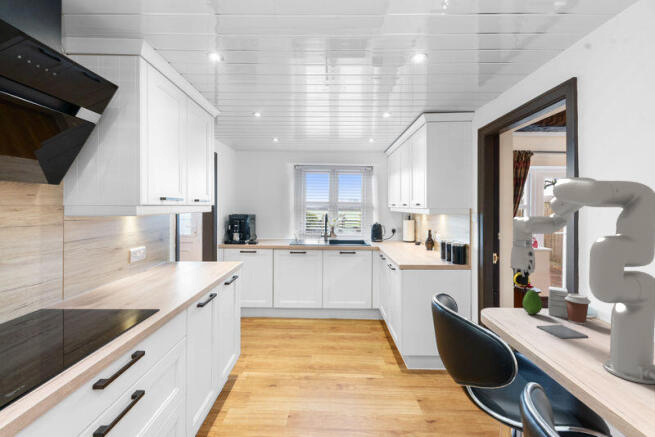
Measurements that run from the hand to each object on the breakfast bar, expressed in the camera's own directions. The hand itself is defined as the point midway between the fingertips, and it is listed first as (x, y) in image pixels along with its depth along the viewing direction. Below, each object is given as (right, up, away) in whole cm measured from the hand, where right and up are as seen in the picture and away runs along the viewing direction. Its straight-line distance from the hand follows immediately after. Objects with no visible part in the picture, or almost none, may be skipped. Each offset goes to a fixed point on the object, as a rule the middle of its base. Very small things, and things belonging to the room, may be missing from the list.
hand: (521, 284), depth 141 cm
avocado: (+12, -17, +10) cm, 23 cm away
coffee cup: (+25, -17, 0) cm, 31 cm away
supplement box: (+24, -17, +10) cm, 31 cm away
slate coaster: (+9, -17, -12) cm, 23 cm away
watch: (0, -1, 0) cm, 1 cm away
